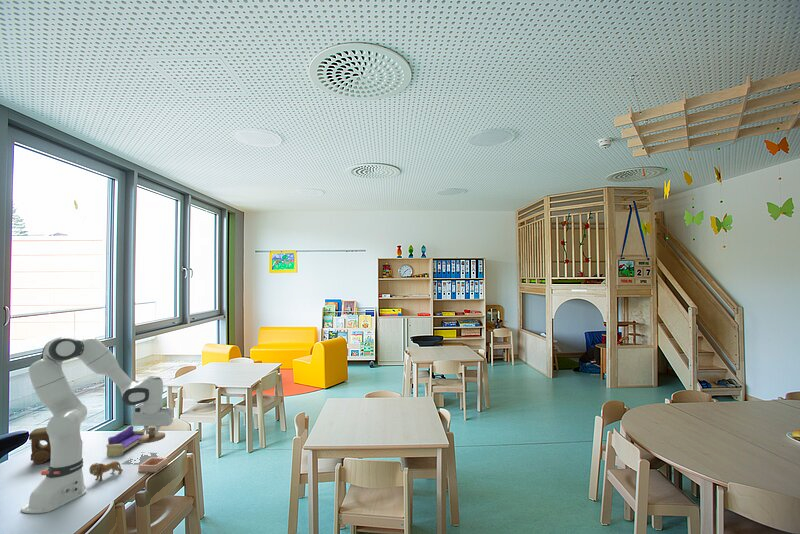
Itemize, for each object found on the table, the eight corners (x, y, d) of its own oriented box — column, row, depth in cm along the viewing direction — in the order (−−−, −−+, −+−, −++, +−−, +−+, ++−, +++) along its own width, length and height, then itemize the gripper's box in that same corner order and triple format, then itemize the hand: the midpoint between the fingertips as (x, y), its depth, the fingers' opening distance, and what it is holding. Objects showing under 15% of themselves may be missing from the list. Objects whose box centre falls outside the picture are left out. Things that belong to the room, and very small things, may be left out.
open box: (155, 473, 195) (155, 466, 195) (138, 472, 195) (138, 465, 195) (167, 464, 204) (167, 457, 204) (150, 464, 204) (151, 457, 204)
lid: (136, 444, 194) (137, 434, 194) (139, 436, 205) (139, 426, 205) (164, 440, 200) (164, 429, 200) (165, 432, 210) (166, 422, 211)
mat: (146, 465, 203) (146, 464, 203) (120, 464, 203) (121, 464, 203) (163, 453, 217) (163, 453, 217) (140, 453, 217) (140, 452, 217)
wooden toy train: (26, 467, 201) (28, 435, 201) (34, 458, 211) (35, 427, 211) (75, 458, 210) (76, 428, 211) (80, 450, 220) (81, 421, 221)
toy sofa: (121, 456, 213) (121, 438, 214) (105, 457, 213) (106, 438, 213) (145, 441, 234) (145, 424, 235) (130, 441, 234) (131, 424, 234)
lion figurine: (91, 485, 183) (92, 466, 183) (86, 483, 185) (86, 464, 185) (125, 472, 196) (126, 454, 196) (119, 469, 198) (120, 452, 198)
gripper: (175, 405, 206) (175, 431, 205) (138, 405, 206) (137, 431, 206) (168, 409, 199) (167, 436, 199) (130, 409, 200) (129, 435, 199)
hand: (152, 433), depth 202 cm, fingers closed on lid, 3 cm apart
